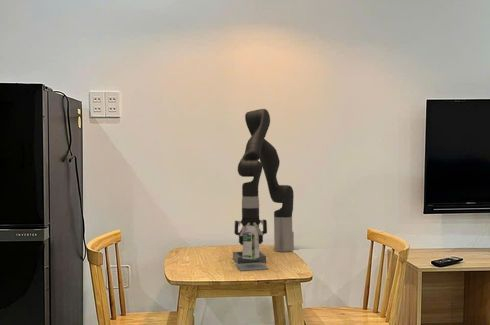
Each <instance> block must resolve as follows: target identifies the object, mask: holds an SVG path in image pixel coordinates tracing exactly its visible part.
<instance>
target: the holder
mask: <svg viewBox="0 0 490 325" xmlns="http://www.w3.org/2000/svg"><path fill="white" fill-rule="evenodd" d="M232 259H233V260H234V261H235V264H244V263H261V262H262V263H263V264H265V263H266V264H267V255H266V254H264V253H263V252H262V251H261V250H259V258H256V259H254V260H253V259H243V251H232Z"/></svg>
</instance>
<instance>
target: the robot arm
mask: <svg viewBox="0 0 490 325" xmlns="http://www.w3.org/2000/svg"><path fill="white" fill-rule="evenodd" d="M244 119H245V123H246V126H247V129H248V131H249V133H250V138H249V139H247V140H248V141H247V143H246V146H245V149H244V153H243V155H242V158H241V159H240V161H238V162H239V163H238V165H237V173H238V175H239V176H241V177H243V178H245V177H246V178H248V177H249V178H250V177H251V178H252V177H253V178H252V180H251V181H246V182H243V183H242V186H241V190H242V191H241V195H242V196H241V220H234V232H233V233H234V234H235V235H236V236H238V244H240V246H243V236H242V235H243V234H244V232H245V231H246V230H247V228H246V227H247V226H249V225H256V226H257V231H258V232H259V245H262V244H263V242H264V235H265V234H266V235H267V233H268V224H267V220H266V219H261V218H260V198H259V186H260V185H259V184H260V180H261V179H260V178H261V176H262V173H263V172H264V176H265V180H266V183H267V187H268V193H269V196H270V199H271V201H272V202H273V203H277V204H281V207H280V208H279V209H277V210H274V212H273V226H274V227H273V233H274V234H273V236H274V237H273V238H274V240H273V242H274V244H273V245H274V247H273V248H274V249H273V250H274V251H276V252H278V253H279V252H281V253H283V252H284V253H287V252H293V251H295V248H294V247H295V245H294V244H295V241H294V240H295V237H294V236H295V235H294V231H293V213H294V212H293V211H294V190H293V187H292V186H291V185H288V184H279V183H278V178H277V174H278V171H279V168H280V158H279V155H278V152H277V150H276V147H275V146H273V145H272V144H271V143H270V142H269V141H267V139H265V138H266V135H267V133H268V130H269V128H270V125H271V115H270V113H269V110H267V109H266V108H260V109H259V108H258V109H255V110H250V111H247V112H246V113H245V115H244ZM262 171H263V172H262ZM240 225H242V226H245V227H244V229H242V228H241V229H240V231H239V227H240ZM258 225H259V227H258ZM260 225H262V230H261V228H260Z"/></svg>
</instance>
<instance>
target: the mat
mask: <svg viewBox="0 0 490 325" xmlns="http://www.w3.org/2000/svg"><path fill="white" fill-rule="evenodd" d="M234 265H235V266H236V268H237V269H238V271H240V272H249V271H251V272H253V271H265V270H269V268H268V266H266V265H265V263H262V262H261V263H244V264H237V263H235V264H234Z"/></svg>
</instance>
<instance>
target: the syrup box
mask: <svg viewBox="0 0 490 325" xmlns="http://www.w3.org/2000/svg"><path fill="white" fill-rule="evenodd" d="M244 227H245V226H243V225H242V226H241V229H244ZM258 227H259V228H260V224H259V225H258ZM246 228H247V230H246V231H245V232H244V234H243V235H242V236H243V245H242V252H243V259H253V260H254V259H256V258H259V251H260V244H259V232H258V231H257V226H256V225H249V226H247V227H246Z"/></svg>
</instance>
